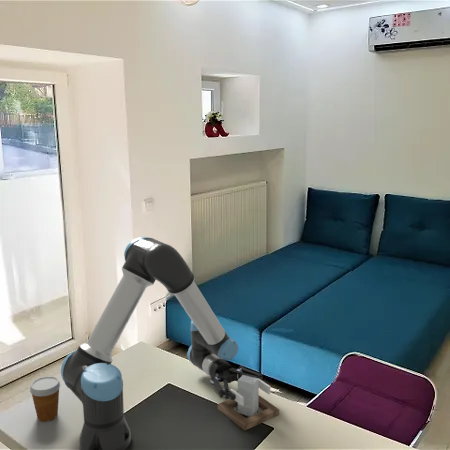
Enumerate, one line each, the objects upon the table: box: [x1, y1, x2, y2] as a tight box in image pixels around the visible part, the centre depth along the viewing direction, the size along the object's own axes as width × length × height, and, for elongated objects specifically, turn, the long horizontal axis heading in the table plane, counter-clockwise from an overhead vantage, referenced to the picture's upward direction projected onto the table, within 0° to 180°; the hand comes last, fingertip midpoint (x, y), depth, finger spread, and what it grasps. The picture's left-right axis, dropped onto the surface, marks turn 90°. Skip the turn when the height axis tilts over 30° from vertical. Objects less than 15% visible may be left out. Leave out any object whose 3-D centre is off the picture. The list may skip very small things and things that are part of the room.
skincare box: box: [237, 375, 260, 417], centre depth 164 cm, size 6×4×12 cm
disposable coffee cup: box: [29, 375, 62, 423], centre depth 161 cm, size 10×10×12 cm
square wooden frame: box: [217, 394, 280, 431], centre depth 165 cm, size 15×15×2 cm
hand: (256, 395), depth 160 cm, fingers open, 10 cm apart
